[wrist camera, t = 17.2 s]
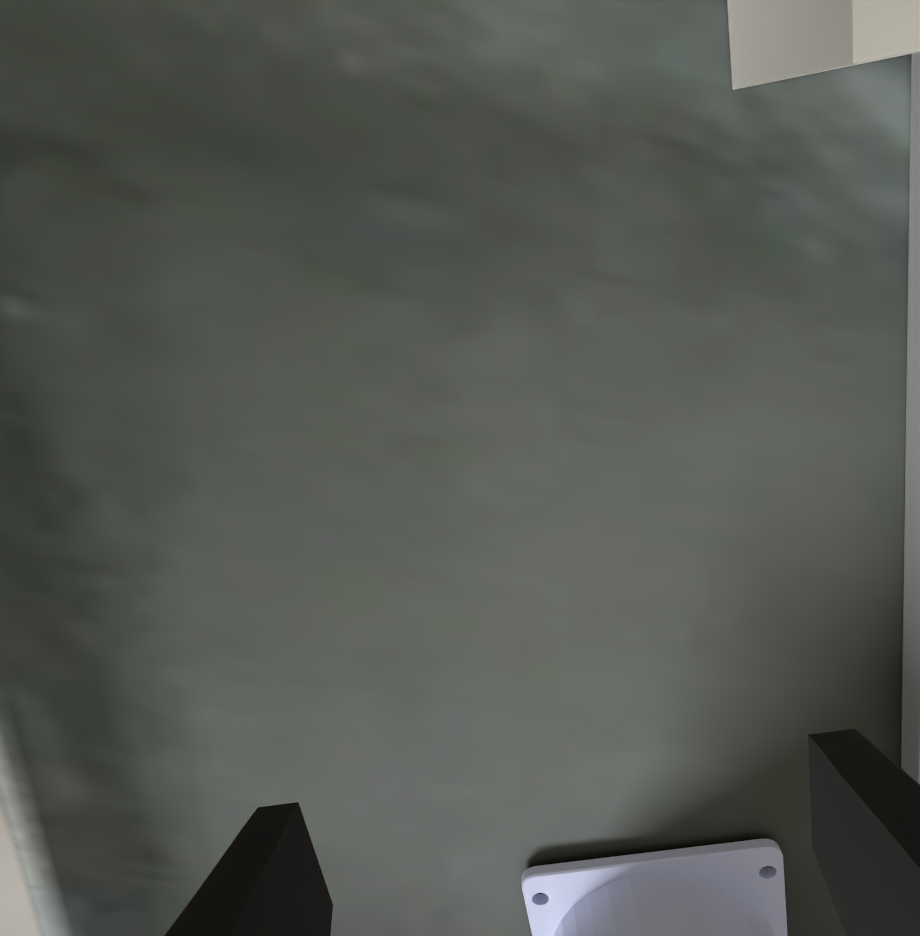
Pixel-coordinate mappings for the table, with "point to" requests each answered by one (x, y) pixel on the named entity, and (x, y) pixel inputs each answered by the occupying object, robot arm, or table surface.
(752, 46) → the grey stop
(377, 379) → the table surface
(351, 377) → the table surface
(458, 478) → the table surface
